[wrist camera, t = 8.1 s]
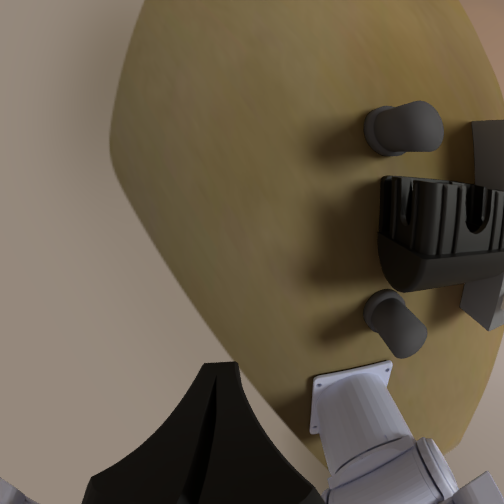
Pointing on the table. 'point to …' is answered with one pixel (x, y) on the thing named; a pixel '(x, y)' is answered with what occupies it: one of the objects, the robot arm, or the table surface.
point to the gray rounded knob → (404, 129)
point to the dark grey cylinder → (394, 323)
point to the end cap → (439, 233)
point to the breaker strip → (492, 177)
